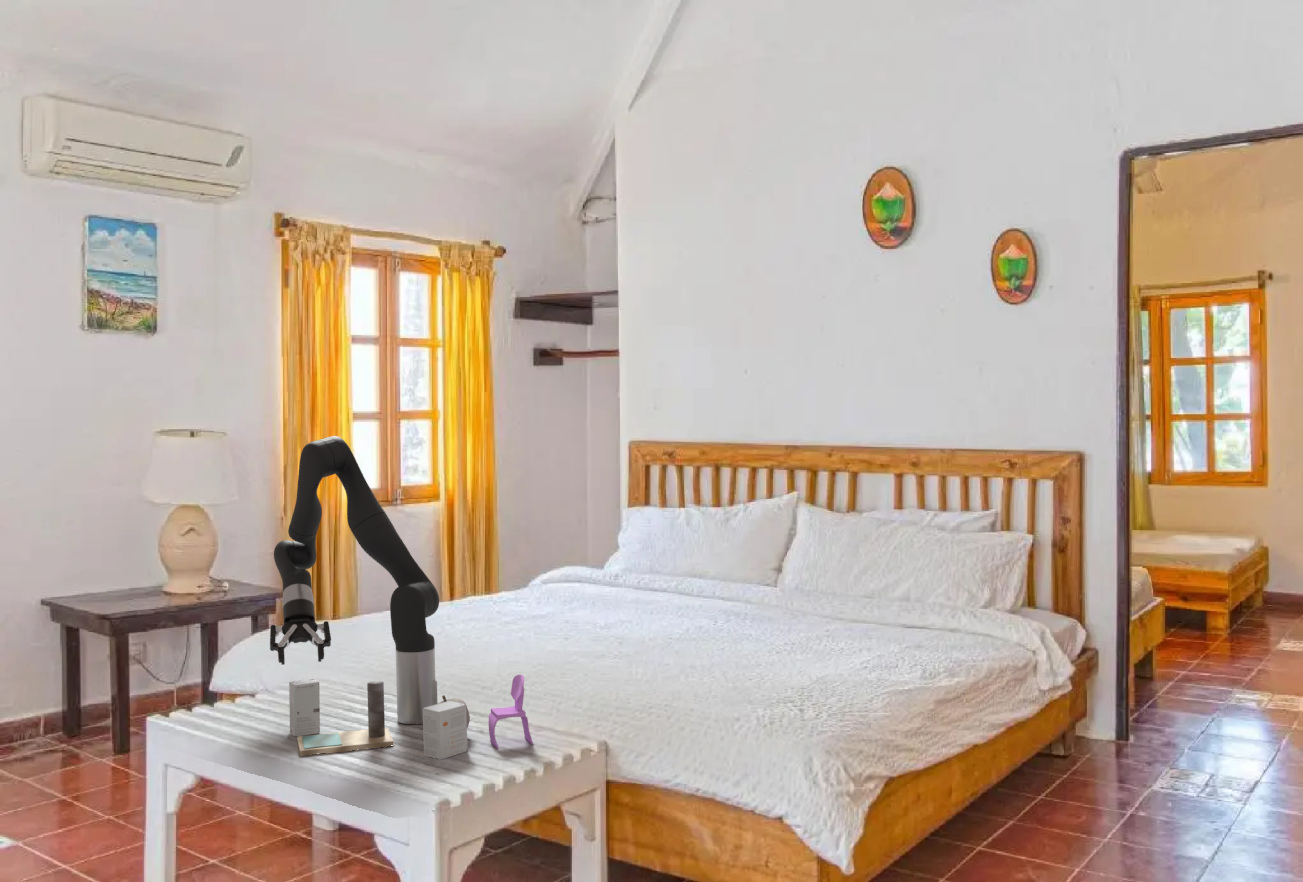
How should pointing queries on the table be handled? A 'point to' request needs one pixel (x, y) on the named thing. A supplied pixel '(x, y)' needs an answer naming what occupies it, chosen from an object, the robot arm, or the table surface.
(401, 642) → the robot arm
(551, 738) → the table surface
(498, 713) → the toy chair
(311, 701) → the skincare box
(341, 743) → the board
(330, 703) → the table surface
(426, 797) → the table surface
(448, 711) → the small box
